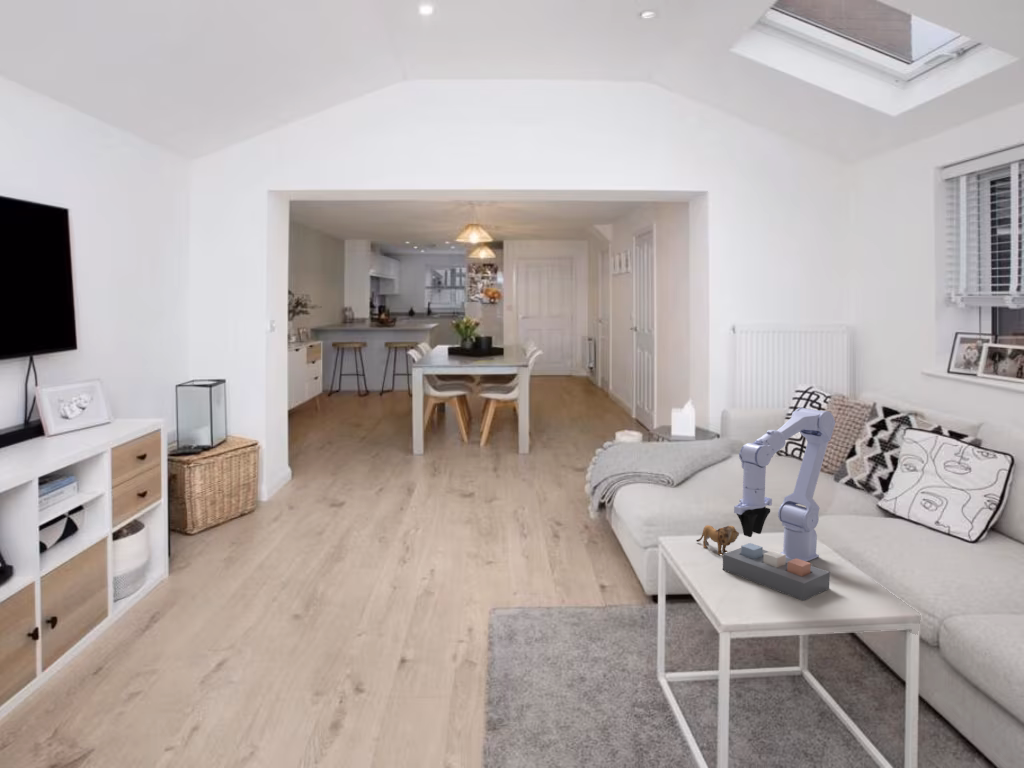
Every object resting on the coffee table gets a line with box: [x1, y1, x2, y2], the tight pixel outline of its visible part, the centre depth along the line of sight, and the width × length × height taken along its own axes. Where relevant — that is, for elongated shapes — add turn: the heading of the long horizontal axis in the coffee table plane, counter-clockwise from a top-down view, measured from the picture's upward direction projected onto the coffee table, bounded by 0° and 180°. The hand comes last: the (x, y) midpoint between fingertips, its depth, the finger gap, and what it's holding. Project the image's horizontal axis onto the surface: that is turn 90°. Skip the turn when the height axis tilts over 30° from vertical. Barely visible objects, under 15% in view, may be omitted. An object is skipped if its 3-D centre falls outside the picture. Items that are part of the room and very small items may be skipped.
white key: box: [763, 549, 786, 568], centre depth 170 cm, size 4×4×3 cm
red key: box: [787, 558, 812, 577], centre depth 164 cm, size 4×4×3 cm
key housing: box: [722, 547, 831, 602], centre depth 171 cm, size 12×24×4 cm, turn 35°
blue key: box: [740, 542, 764, 560], centre depth 176 cm, size 4×4×3 cm
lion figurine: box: [695, 524, 740, 555], centre depth 192 cm, size 15×5×9 cm, turn 34°
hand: (752, 534), depth 175 cm, fingers open, 4 cm apart
